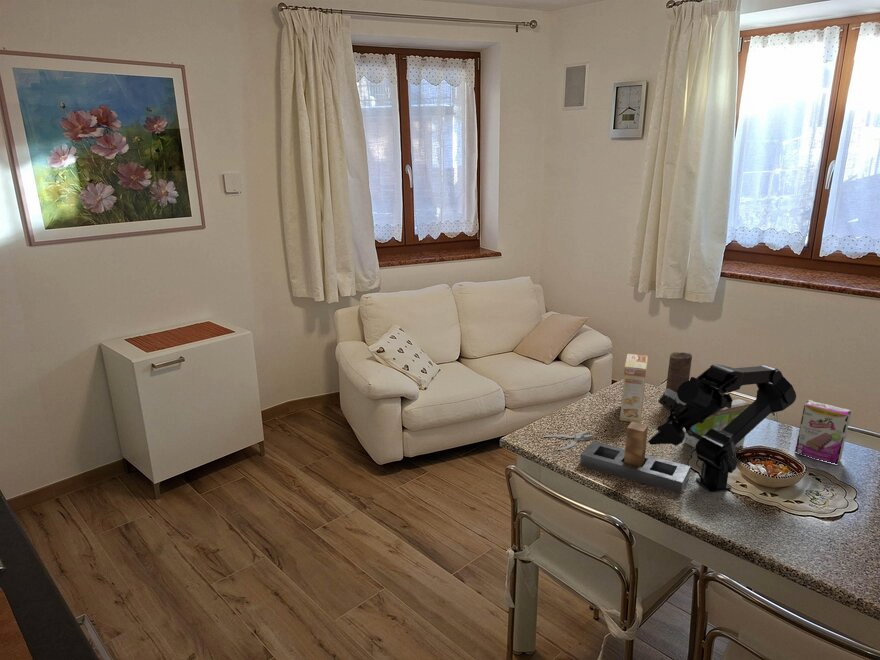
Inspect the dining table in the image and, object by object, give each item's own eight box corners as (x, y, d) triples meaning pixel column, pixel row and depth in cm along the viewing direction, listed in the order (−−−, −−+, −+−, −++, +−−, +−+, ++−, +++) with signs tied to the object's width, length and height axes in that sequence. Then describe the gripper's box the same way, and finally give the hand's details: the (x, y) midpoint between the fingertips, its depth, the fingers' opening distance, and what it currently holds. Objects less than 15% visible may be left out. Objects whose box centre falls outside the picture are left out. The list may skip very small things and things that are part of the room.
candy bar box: (794, 454, 176) (803, 404, 172) (798, 448, 180) (807, 398, 175) (837, 467, 169) (848, 414, 164) (841, 460, 173) (852, 409, 168)
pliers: (541, 433, 188) (581, 426, 192) (541, 438, 188) (581, 431, 193) (557, 447, 179) (599, 439, 183) (556, 452, 179) (599, 444, 184)
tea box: (708, 456, 175) (715, 411, 171) (683, 442, 184) (688, 398, 180) (744, 446, 181) (751, 402, 177) (717, 433, 190) (723, 390, 186)
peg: (643, 470, 168) (648, 425, 164) (639, 476, 165) (643, 431, 161) (627, 465, 171) (631, 421, 167) (623, 472, 167) (627, 427, 163)
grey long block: (689, 477, 164) (690, 466, 163) (680, 494, 156) (682, 482, 155) (591, 451, 179) (592, 440, 178) (579, 465, 171) (580, 454, 170)
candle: (683, 412, 205) (689, 358, 199) (661, 408, 209) (667, 354, 203) (687, 405, 211) (694, 352, 206) (666, 400, 215) (672, 349, 209)
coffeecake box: (641, 423, 197) (646, 369, 192) (619, 420, 200) (623, 366, 194) (643, 406, 210) (648, 355, 205) (622, 403, 213) (627, 352, 207)
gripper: (687, 372, 161) (643, 400, 170) (672, 395, 146) (624, 425, 155) (715, 404, 159) (668, 431, 168) (703, 431, 144) (652, 459, 153)
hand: (653, 436), depth 161 cm, fingers open, 9 cm apart
